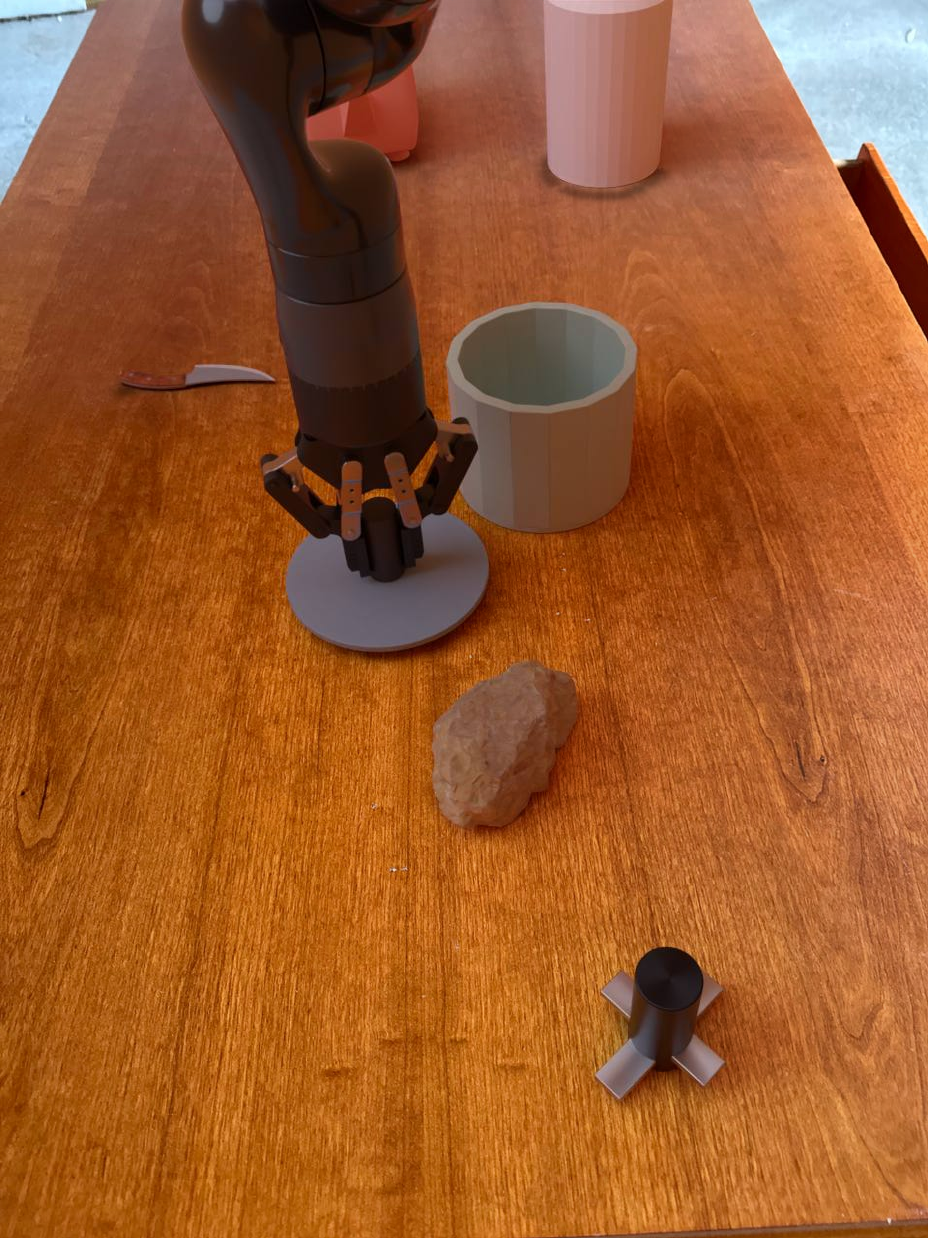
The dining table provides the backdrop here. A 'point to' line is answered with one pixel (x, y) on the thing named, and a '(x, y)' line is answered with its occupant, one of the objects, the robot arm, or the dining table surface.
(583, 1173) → the dining table surface
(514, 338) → the processor bowl
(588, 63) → the bottle
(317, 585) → the lid
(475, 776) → the stone tool
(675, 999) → the blade unit
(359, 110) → the teapot
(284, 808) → the dining table surface
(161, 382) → the knife
